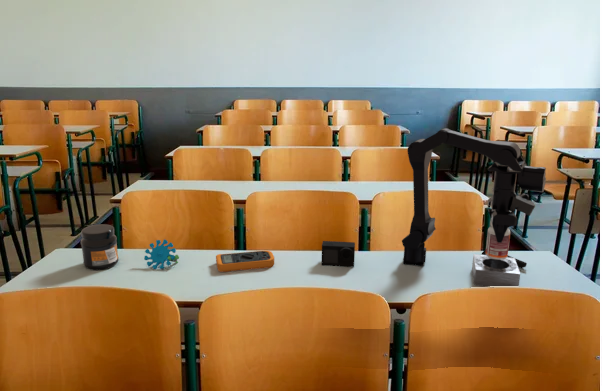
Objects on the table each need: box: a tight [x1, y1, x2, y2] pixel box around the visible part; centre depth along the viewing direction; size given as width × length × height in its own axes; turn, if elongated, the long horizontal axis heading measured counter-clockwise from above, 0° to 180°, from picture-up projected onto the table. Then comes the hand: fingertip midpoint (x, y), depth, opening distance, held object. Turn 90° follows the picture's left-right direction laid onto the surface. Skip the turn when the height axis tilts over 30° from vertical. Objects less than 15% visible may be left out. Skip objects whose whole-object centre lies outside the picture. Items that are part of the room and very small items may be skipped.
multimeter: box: [215, 250, 275, 273], centre depth 163 cm, size 9×18×3 cm, turn 103°
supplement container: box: [80, 223, 119, 271], centre depth 162 cm, size 10×10×12 cm
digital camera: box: [321, 240, 356, 268], centre depth 163 cm, size 10×5×7 cm, turn 83°
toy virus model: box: [143, 238, 180, 270], centre depth 164 cm, size 11×6×10 cm
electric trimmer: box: [480, 248, 528, 270], centre depth 166 cm, size 4×16×3 cm, turn 32°
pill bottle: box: [485, 218, 511, 260], centre depth 150 cm, size 6×6×11 cm
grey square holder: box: [471, 253, 521, 287], centre depth 153 cm, size 12×12×5 cm
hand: (498, 238), depth 150 cm, fingers closed on pill bottle, 6 cm apart
